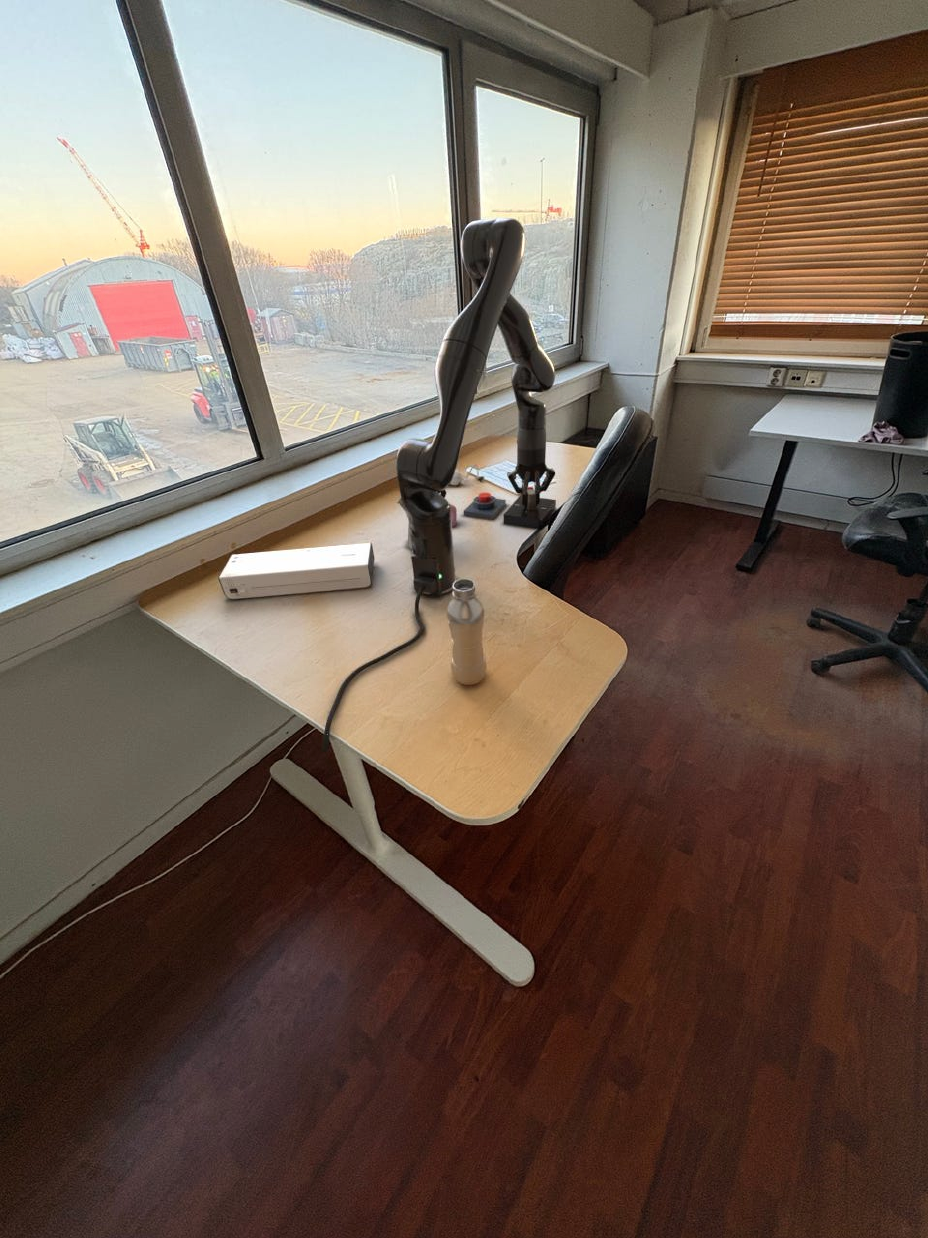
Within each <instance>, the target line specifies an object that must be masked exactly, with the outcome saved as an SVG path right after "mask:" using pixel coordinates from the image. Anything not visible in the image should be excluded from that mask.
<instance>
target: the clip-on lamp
mask: <svg viewBox="0 0 928 1238" xmlns="http://www.w3.org/2000/svg"><path fill="white" fill-rule="evenodd" d="M475 467H476V476H477V481H482V480H484V479H485V476H483V475H481V476H480V475H479V467H478V464H476V463H475V464H473V465H472V467H470V470H469V472H468V473H467V475H463V474H462V473H461V471H460V470H459V469H456V471H455V474H454V476H453V479H452V481H451V483H450V484H449V485H451V486H458V485H459V484H460V483H462V482H463V480H464V479H465V478H468V477H469V476H470V475H471V473H472V470H473V469H474V468H475Z"/></svg>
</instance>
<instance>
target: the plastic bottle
mask: <svg viewBox="0 0 928 1238" xmlns="http://www.w3.org/2000/svg"><path fill="white" fill-rule="evenodd" d="M446 620H447V623H448V627H449V630H450V635H451V636H450V637H451V644H452V646H451V647H452V648H451V649H452V651H451V660H450V670H451V674H452V676H453V678H454V679H455V680H456V681H457V682H458V683H460V684H461V685H464V686H465V685H466V686H472V685H476V684H478V683H479V682H481V681H482V680H483V679H484V678H485V676H486V674H487V666H488V665H487V660H486V656H485V653H484V646H483V629H484V621H485V607H484V605H483V603H482V602H481V601H480V600H479V598H477V591H476V583H475V582H474V580H472V579H470V578H460V579H456V581H455V582H454V583H453V590H452V599H451V601H450V602H449V604H448V606H447V608H446Z"/></svg>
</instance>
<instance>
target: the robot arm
mask: <svg viewBox="0 0 928 1238" xmlns="http://www.w3.org/2000/svg"><path fill="white" fill-rule="evenodd" d="M525 248H526V234H525V231H524V227H523V225H522V223H521V222H520V221H519V220H517V219H515V218H512V217H499V218H486V219H479V220H478V219H477V220H473V221H470V223H468V224H467V225H466V226H465V228H464V230H463V232H462V235H461V241H460V253H461V260H462V262H463V265H464V268H465V270H466V272H467V274H468V277H469V278H470V280H471V281H472V282H473V285H474V287H475V288H476V290H477V292H476V294H475V295H474V297H473V298H472V300H471V301H470V302H469V303H468V304H467V305H466V307H464V309H463V310H461V312H460V313H459V314H458V315H457V316H456V317H455V319H454V320H453V321H452V322H451V324H450V325H449V327H448V328H447V329H446V331H445V333H444V335H443V338H442V340H441V344H440V347H439V350H438V354H437V357H436V360H435V365H434V371H433V372H434V375H433V376H434V382H435V388H436V393H437V394H436V395H437V398H438V402H439V403H438V404H439V419H438V423H437V428H436V431H435V434H434V437H433V440H426V439H421V438H415V437H414V438H409V439H406V440H405V441H403V442H402V444H401V445H400V446H399V448H398V451H397V453H396V458H395V459H396V461H395V469H396V477H397V478H396V479H397V483H398V487H399V488H398V489H399V494H400V499H402V504H403V507H404V509H405V511H406V512H407V515H408V517H407V522H408V524H409V530H410V538H411V546H412V550H411V554H412V555H411V557H410V558H411V564H412V565H411V567H412V575H413V588H414V589H413V590H414V591H415V593H417V594H416V597H415V601H414V617H415V620H416V622H417V624H418V627H419V629H418V632H417V633H416V634H415V636H414V637H412V638H411V639H409V640H408V641H406V642H404V643H403V644H401V645H398V646H396V647H394V648H393V649H391V650H389V651H387V652H386V653H384V654H382V655H380V656H378V657H376V658H374V659H372V660H370V661H367V662H366V663H364V664H362V665H361V666H359V667H358V668H356V669H355V670H354V671H352V672H351V673H350V674H349V675H348V676H347V677H346V679H344V681H343V682H342V684H341V686H340V687H339V689H338V692H337V694H336V697H335V699H334V701H333V704H332V706H331V708H330V711H329V713H328V716H327V719H326V722H325V726H324V732H323V740H322V748H321V750H322V751H323V752H325V751H327V750H328V748H329V742H330V741H329V740H330V734H331V728H332V724H333V720H334V717H335V714H336V712H337V709H338V707H339V705H340V703H341V700H342V697H343V695H344V693H345V691H346V688H347V687H348V685H349V684H350V682H351V681H352V680H353V679H354V678H355V677H356V676H358V674H360V673H361V672H363V671H364V670H366V669H368V668H370V667H371V666H374V665H376V664H378V663H380V662H383V661H385V660H386V659H387V658H389V657H391V656H393V655H394V654H396V653H398V652H400V651H402V650H404V649H407V648H408V647H409V646H412V645H413V644H414V643H416V642H417V641H418V640H420V638H421V636H422V635H423V633H424V629H425V626H424V623H423V621H422V619H421V615H420V600H421V597H422V595H426V596H432V597H436V598H440V597H441V596H442V595H445V594H448V593H450V592H453V583H454V582H455V581H457V578H456V567H455V566H456V565H455V552H454V540H453V526H452V523H451V509H450V504H451V503H450V502H449V501H448V500H447V499H446V497H445V498H443V497H442V496H441V495H440V494H441V493H438V492H439V491H443V490H444V489H445V490H446V489H447V488H448V487H449V486H450V485H451V484H450V483H451V481H452V479H453V476H454V474H455V471H456V470H457V468H458V465H459V464H458V463H459V459H460V454H461V450H462V445H463V441H464V436H465V431H466V427H467V423H468V421H469V417H470V413H471V410H472V407H473V402H474V400H475V396H476V393H477V390H478V387H479V384H480V381H481V379H482V375H483V373H484V369H485V366H486V363H487V359H488V356H489V353H490V350H491V346H492V343H493V339H494V336H495V333H496V330H497V327H498V329H499V332H500V334H501V336H502V339H503V342H504V345H505V347H506V350H507V352H508V356H509V358H510V360H511V362H513V363H514V365H513V367H512V369H511V374H510V380H511V386H512V390H513V394H514V399H515V402H516V407H517V410H518V413H517V414H518V416H517V417H518V419H517V420H518V421H517V436H516V449H517V450H516V453H517V454H516V458H517V459H516V463H517V464H516V466H515V469H514V470H513V471H508V472H507V473H506V476H507V478H508V480H509V483H510V484H511V486H512V488H513V490H514V491H515V493H516V494H519V495H520V496H521V502H522V505H524V507H527V488H528V487H529V483H531V482H532V483H533V486H534V487H533V488H534V490H535V492H536V506H537V504H539V503H540V498H541V493H543V492H546V491H547V490H548V489H549V486H550V485H551V483H552V481H553V479H554V477H555V476H556V471H555V469H554V468H549V467H548V466H547V464H546V455H547V453H546V452H547V451H546V450H547V430H546V429H547V427H546V426H547V423H546V422H547V406H546V404H545V402H543V401H541V400H538V399H536V398H535V397H533V394H532V393H540V394H542V393H546V392H548V391H549V390H551V389H552V388H553V386H554V383H555V380H556V373H555V368H554V365H553V362H552V360H551V359H550V357H549V356H548V354H547V353H546V351H545V349H544V348H543V347H542V345H541V344H540V343H539V340H538V337H537V333H536V330H535V326H534V324H533V321H532V319H531V317H530V315H529V314H528V312H527V311H526V309H525V308H524V306H523V305H521V303H520V302H519V301H518V300H517V299H516V297H514V296H513V294H512V293H511V292H512V289H513V287H514V284H515V282H516V280H517V277H518V275H519V272H520V270H521V266H522V264H523V259H524V255H525ZM544 474H545V478H544V479H543V480H542V481H543V482H542V483H541V479H542V477H543V476H544ZM517 475H518V477H519V478H520V480H521V487H520V486H519V484H518V482H517V481H516V480H517ZM449 503H450V504H449ZM404 509H403V510H404ZM405 511H404V512H405ZM406 512H405V513H406ZM407 515H406V516H407ZM327 734H328V735H327ZM351 868H352V869H353V870H355V869H357V866H352V867H351Z"/></svg>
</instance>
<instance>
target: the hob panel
mask: <svg viewBox="0 0 928 1238" xmlns="http://www.w3.org/2000/svg"><path fill="white" fill-rule="evenodd" d="M556 507H557V499H552V498H544V497H540V503H539V504H537V506H536V510H531V511H528V509H527V507H524V505H522V502H521V495H519V496H518V497H517V498H516V500H514V502H513V503H512V505H510V506H509V508H508V509H507V510H506V511H505V512H504V514H503V525H507V526H514V527H522V528H529V529H533V530H534V529H535V530H542V529H543V528H544V526H545V525H546V523H547V522H548V521H549V519H550V518H551V516H552V515H553V514H554V512H555V511H556Z"/></svg>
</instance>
